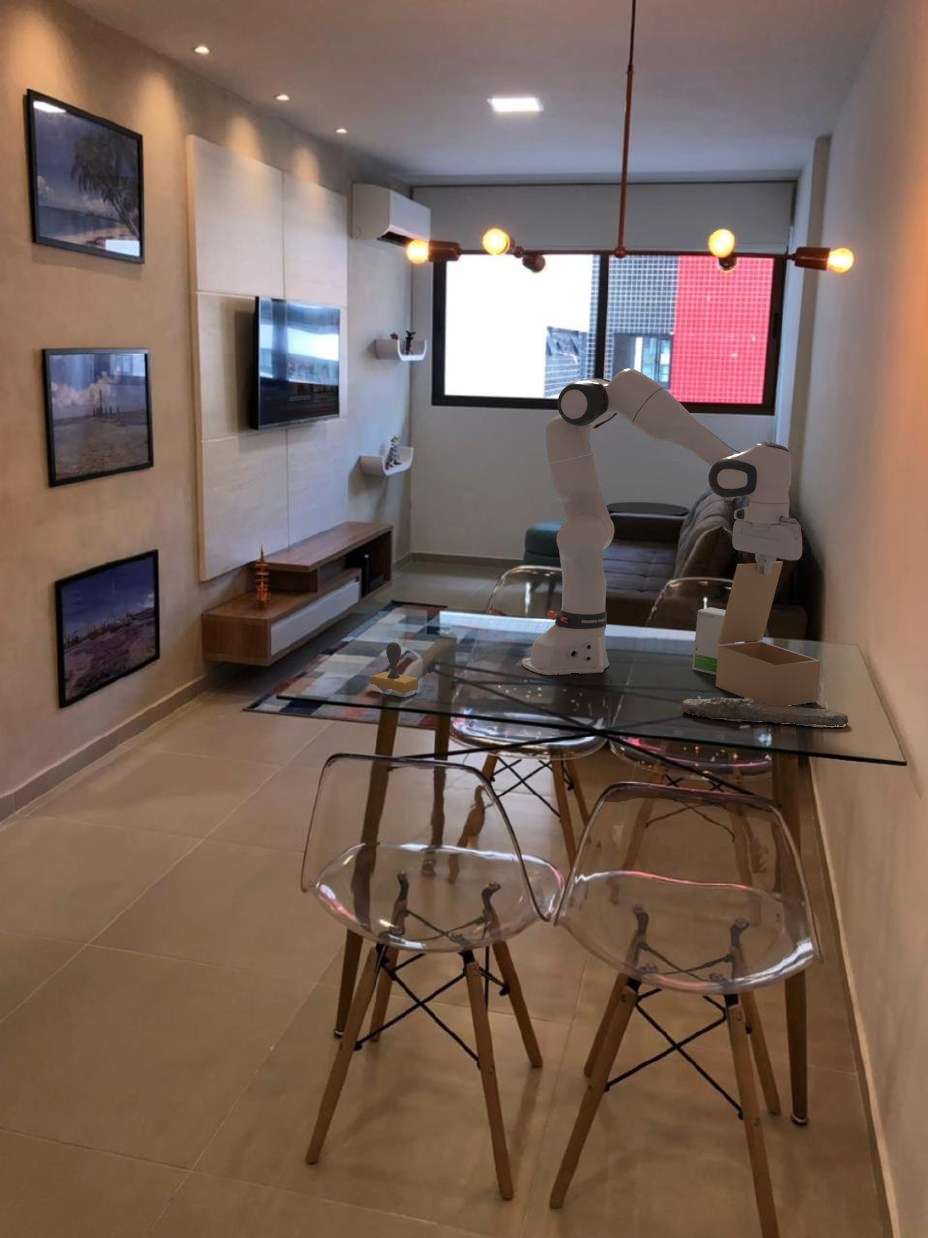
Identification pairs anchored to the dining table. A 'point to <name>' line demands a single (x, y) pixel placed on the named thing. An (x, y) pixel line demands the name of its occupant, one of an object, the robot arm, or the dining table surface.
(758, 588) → the lid flap
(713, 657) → the skincare box
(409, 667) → the dining table surface
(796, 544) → the robot arm
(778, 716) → the long grey stone
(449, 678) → the dining table surface
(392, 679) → the rubber stamp
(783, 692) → the carton
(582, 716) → the dining table surface
